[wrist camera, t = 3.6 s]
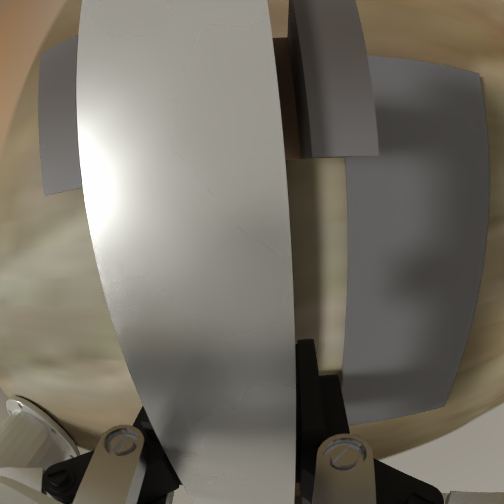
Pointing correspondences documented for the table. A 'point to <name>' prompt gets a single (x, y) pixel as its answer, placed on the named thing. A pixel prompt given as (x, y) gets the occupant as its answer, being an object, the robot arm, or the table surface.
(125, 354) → the rail
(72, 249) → the table surface
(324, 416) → the robot arm
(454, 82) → the mat
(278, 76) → the rack
